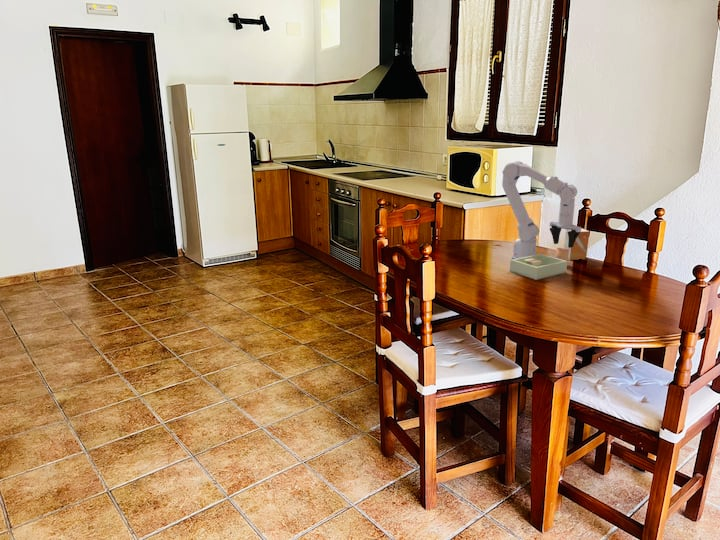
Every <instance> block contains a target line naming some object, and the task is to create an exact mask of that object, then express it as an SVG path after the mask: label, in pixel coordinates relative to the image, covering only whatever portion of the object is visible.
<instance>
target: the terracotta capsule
mask: <svg viewBox="0 0 720 540" xmlns="http://www.w3.org/2000/svg"><path fill="white" fill-rule="evenodd" d="M568 255H569V249H567V248H564V247H557V248H556V253H555V258H558V259H561V260H565V261H567V265H568V262H569V259H568Z"/></svg>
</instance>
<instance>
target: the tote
mask: <svg viewBox="0 0 720 540" xmlns="http://www.w3.org/2000/svg"><path fill="white" fill-rule="evenodd" d="M531 258H533V259H537V260H540V261H542V264H541V266H539V267H536V266H532V265H529V264H526V263H524V260H526V259H531ZM509 264H510V265H509V272H511V273H513V274H517V275H519V276H523V277H526V278H528V279H532V280H535V281H538V280H542V279H545V278H550V277H555V276H557V275H558V276H559V275H563V274H567V268H568V264H567V261H565V260H561V259H558V258H556V257H555V256H554V257H553V256H550V255H546V254H543V253H537V254H535V255H532V256H527V257H522V258H517V259H514V258H512V259H510V262H509Z"/></svg>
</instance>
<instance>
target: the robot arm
mask: <svg viewBox="0 0 720 540" xmlns="http://www.w3.org/2000/svg"><path fill="white" fill-rule="evenodd" d="M501 173H502V182H501V184H502V188H503V189H502V190H503V191H504V193H505V195H506V197H507V200H508V203H509V205H510V207H511V210H512V212H513V214H514V217H515V219H516V221H517V226H516V227H517V229H518V237H519V238H517V239H516V240H515V241H514V242H513V250H512V251H513V252H512V253H513V254H512V256H511V259H517V258H522V257H527V256H532V255H537V254H536V252H537V242H538V241H537V236H538V235H539V233H540V228H539V227H538V225H537V224H535V222H534V220H533V219H532V218H531V217H530V215H529V213H528V211H527V208H526V207H525V206H526V205H525V203H524V202H523V199H522V197H521V195H520V193H519V190H518V188H517V186H516V185H517V183H518V180H519V178H520V177H526V176H527V177H528V178H531V179H532V180H535V181H536V182H540V183H541V184H542V185H543V187H544V189H546V190H548V191H550V192H551V193H553V194H555V195H556V196H559V198H560V203H559V212H558V221H550V222H549V231H550V233H551V236H552V241H553V244H554V245H557V244H559V242H560V235H561V231H562V229H563V230H566V229H567V230H571V231H569V232H568V237H569V243H568V247H569V248H571V247H573V245H574V243H575V240H576V238H577V237H578V235H579V234H580V232H581V229H582V226H578V225H576V224H573V222H574V215H575V201H576V198H575V197H576V196H577V194H578V189H577V187H576V186H574V185H573V184H569V183H568V181H567V182H564V181H563V180H560V179H559V177H558V176H556V175H555V176H554V175H552V176H547V175H545V174H544V173H542V172H540V171H538V170H537V169H535V168H534V167H532V166H530V165H528V164H527V163H523V162H522V161H520V160H519V161H514V162H509V163H507V164H506V165H505V166H504V168H503V170H502V172H501Z"/></svg>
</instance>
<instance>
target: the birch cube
mask: <svg viewBox="0 0 720 540" xmlns="http://www.w3.org/2000/svg"><path fill="white" fill-rule="evenodd" d="M524 263H526V264H529V265H532V266H536V267H539V266H541V264H542V261H540V260H537V259H533V258H531V259H526V260H524Z"/></svg>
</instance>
